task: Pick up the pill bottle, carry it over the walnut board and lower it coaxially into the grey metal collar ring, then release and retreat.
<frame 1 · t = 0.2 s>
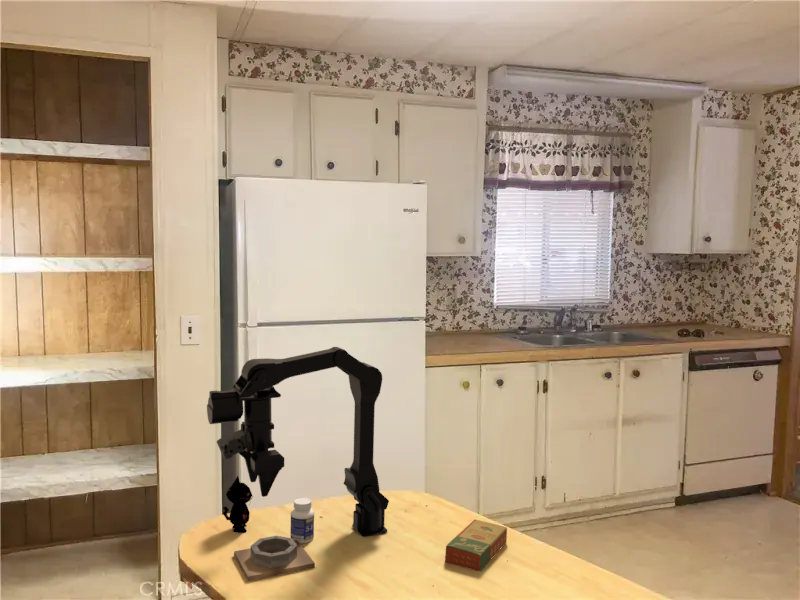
hand: (258, 488, 147), 14 cm above the table, fingers open, 9 cm apart
carton: (476, 554, 150), on the table
pill bottle: (302, 539, 154), on the table
cat figurine: (238, 529, 159), on the table
collar board: (273, 561, 143), on the table
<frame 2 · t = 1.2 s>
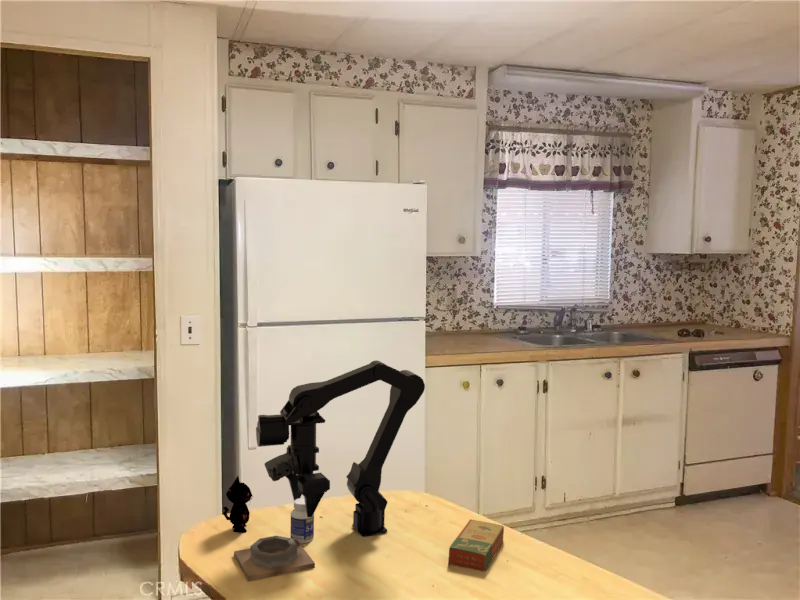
hand: (303, 509, 154), 7 cm above the table, fingers open, 9 cm apart
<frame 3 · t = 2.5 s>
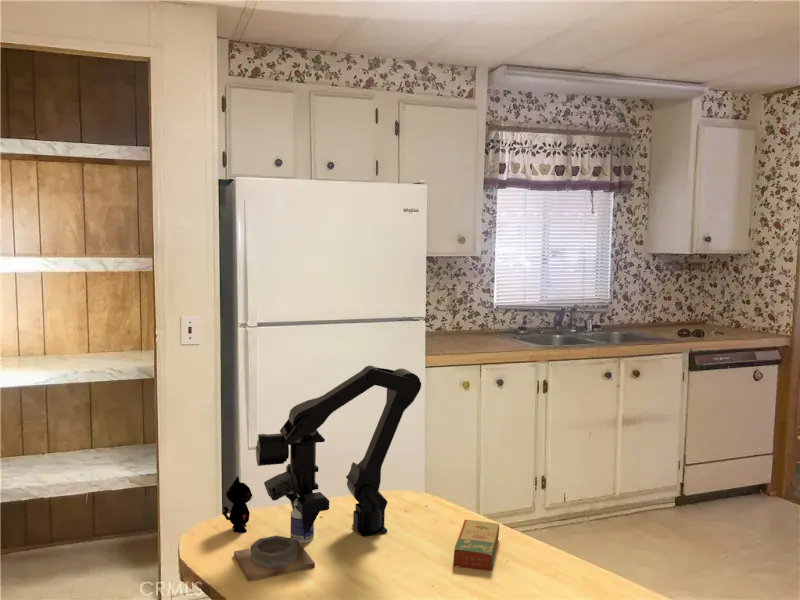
hand: (302, 527, 154), 3 cm above the table, fingers closed on pill bottle, 5 cm apart
pill bottle: (302, 539, 154), on the table, touching gripper
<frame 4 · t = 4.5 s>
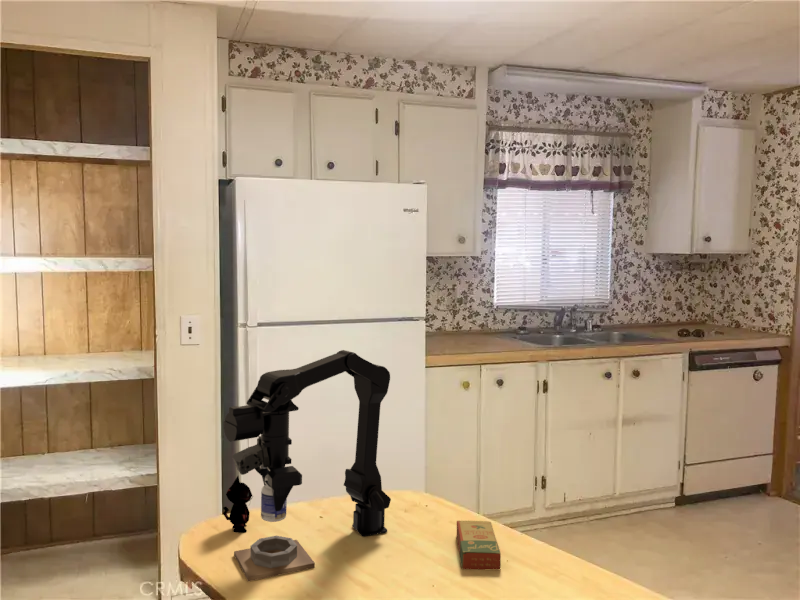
hand: (274, 505, 142), 12 cm above the table, fingers closed on pill bottle, 5 cm apart
pill bottle: (273, 518, 142), point 9 cm above the table, touching gripper
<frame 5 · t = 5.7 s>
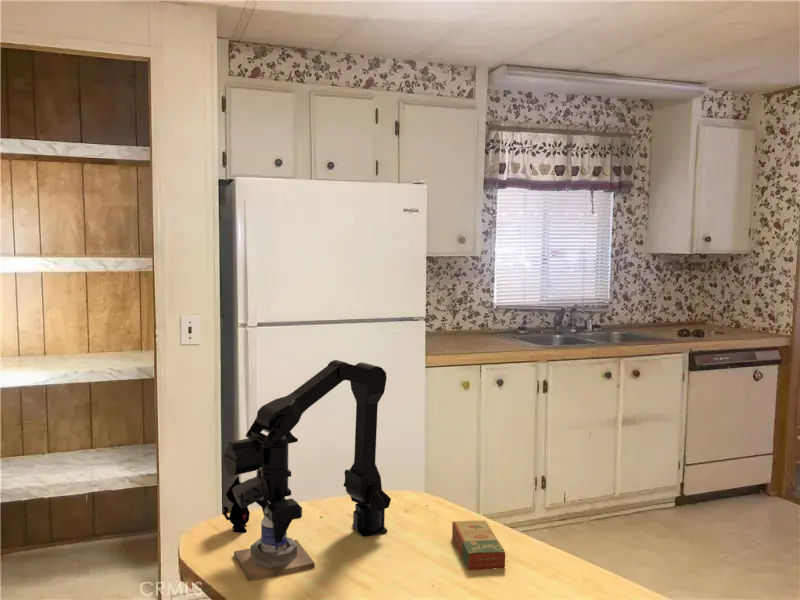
hand: (274, 537, 143), 5 cm above the table, fingers closed on pill bottle, 5 cm apart
pill bottle: (274, 549, 143), point 3 cm above the table, touching gripper
when the fingers open (5 cm above the table, at t = 6.6 s): pill bottle drops 1 cm, resting on collar board.
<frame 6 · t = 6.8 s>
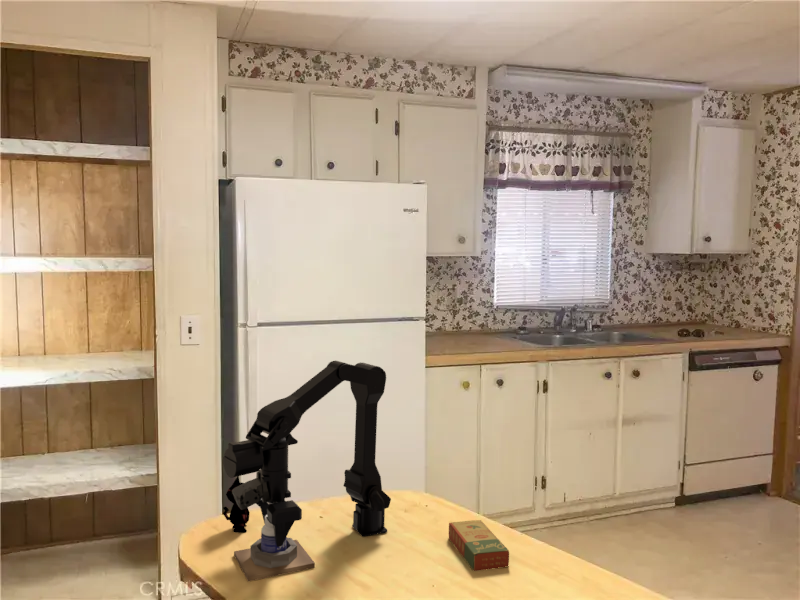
hand: (274, 538, 143), 5 cm above the table, fingers open, 7 cm apart
pill bottle: (273, 557, 143), point 1 cm above the table, touching collar board
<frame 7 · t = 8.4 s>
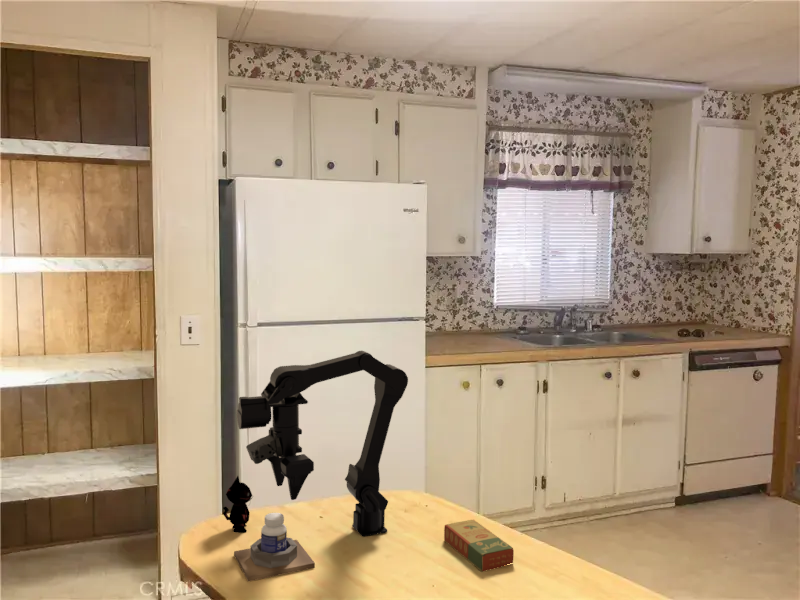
hand: (286, 492, 151), 12 cm above the table, fingers open, 9 cm apart
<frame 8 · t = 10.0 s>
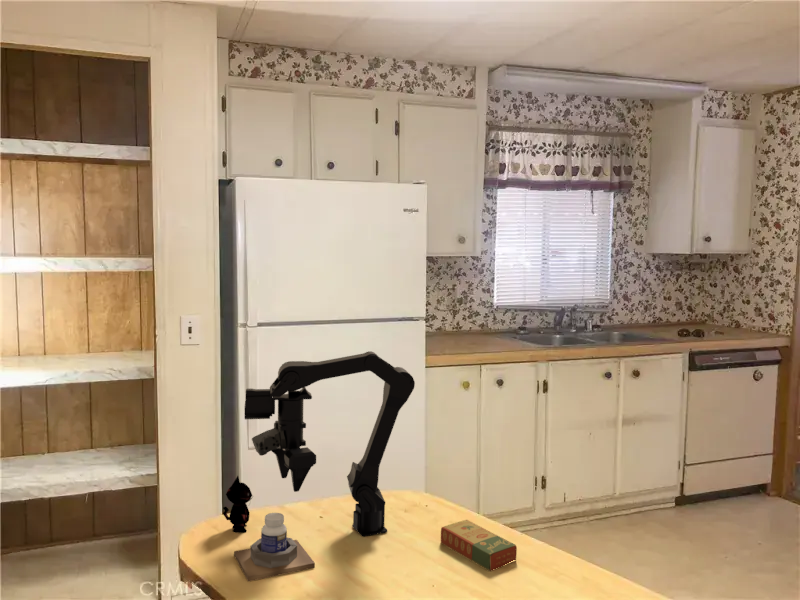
hand: (290, 484, 155), 12 cm above the table, fingers open, 9 cm apart
at the end: pill bottle 0.1 cm off-centre on the collar board, point 0.8 cm above the collar board's base; pill bottle tilted 0°; the gripper is holding nothing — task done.
